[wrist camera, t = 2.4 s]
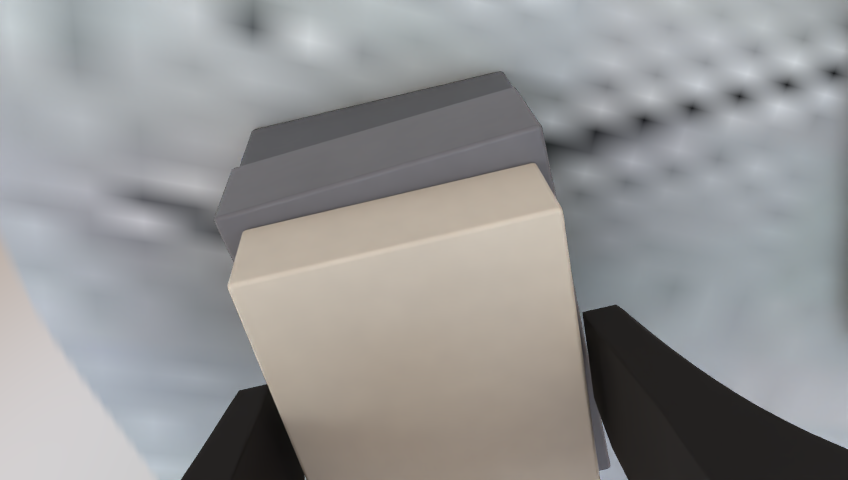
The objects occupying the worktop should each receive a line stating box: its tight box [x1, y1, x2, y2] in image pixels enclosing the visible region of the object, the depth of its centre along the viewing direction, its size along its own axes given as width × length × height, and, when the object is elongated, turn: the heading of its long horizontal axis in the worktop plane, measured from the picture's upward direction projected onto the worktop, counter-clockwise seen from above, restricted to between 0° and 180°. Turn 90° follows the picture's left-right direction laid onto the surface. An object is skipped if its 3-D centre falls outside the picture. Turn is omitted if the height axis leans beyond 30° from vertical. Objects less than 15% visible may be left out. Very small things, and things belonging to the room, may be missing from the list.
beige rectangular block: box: [228, 163, 600, 480], centre depth 13 cm, size 8×5×2 cm, turn 12°
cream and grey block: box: [214, 71, 610, 471], centre depth 16 cm, size 8×6×4 cm
